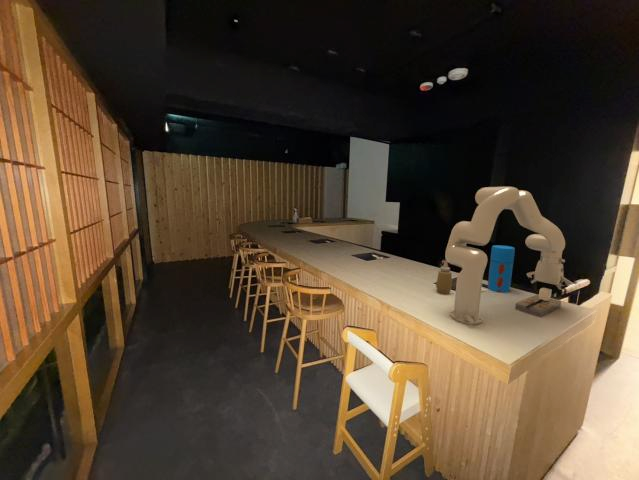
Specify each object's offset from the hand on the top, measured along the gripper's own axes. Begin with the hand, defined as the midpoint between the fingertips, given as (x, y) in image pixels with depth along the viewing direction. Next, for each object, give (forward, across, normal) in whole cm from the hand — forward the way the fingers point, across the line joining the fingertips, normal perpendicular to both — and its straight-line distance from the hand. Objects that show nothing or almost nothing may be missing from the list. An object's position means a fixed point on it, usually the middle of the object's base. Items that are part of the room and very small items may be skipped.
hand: (545, 293), depth 132 cm
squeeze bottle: (+6, +36, +27) cm, 46 cm away
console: (+6, 0, +6) cm, 9 cm away
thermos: (+6, +23, -5) cm, 25 cm away
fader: (+4, 0, 0) cm, 4 cm away
